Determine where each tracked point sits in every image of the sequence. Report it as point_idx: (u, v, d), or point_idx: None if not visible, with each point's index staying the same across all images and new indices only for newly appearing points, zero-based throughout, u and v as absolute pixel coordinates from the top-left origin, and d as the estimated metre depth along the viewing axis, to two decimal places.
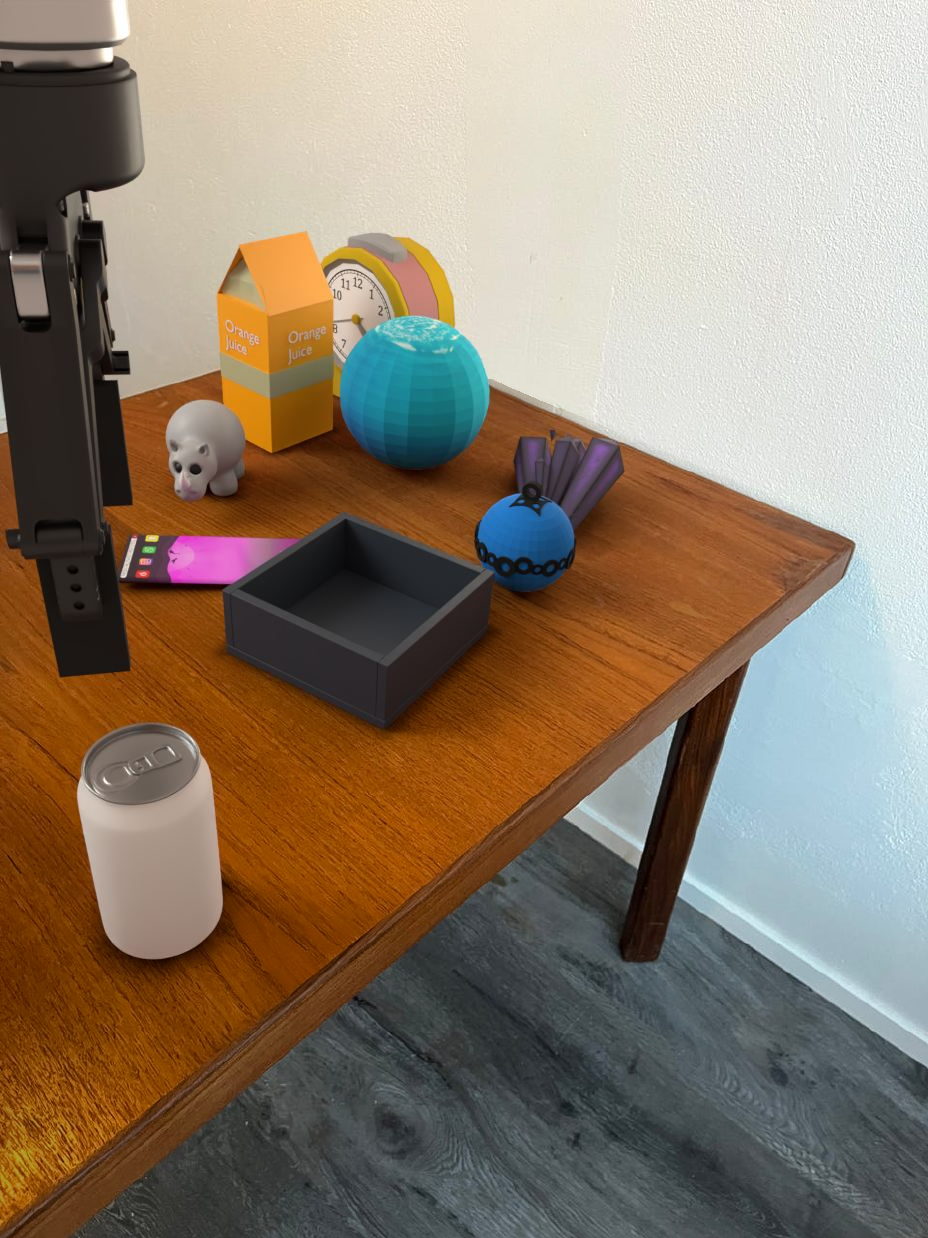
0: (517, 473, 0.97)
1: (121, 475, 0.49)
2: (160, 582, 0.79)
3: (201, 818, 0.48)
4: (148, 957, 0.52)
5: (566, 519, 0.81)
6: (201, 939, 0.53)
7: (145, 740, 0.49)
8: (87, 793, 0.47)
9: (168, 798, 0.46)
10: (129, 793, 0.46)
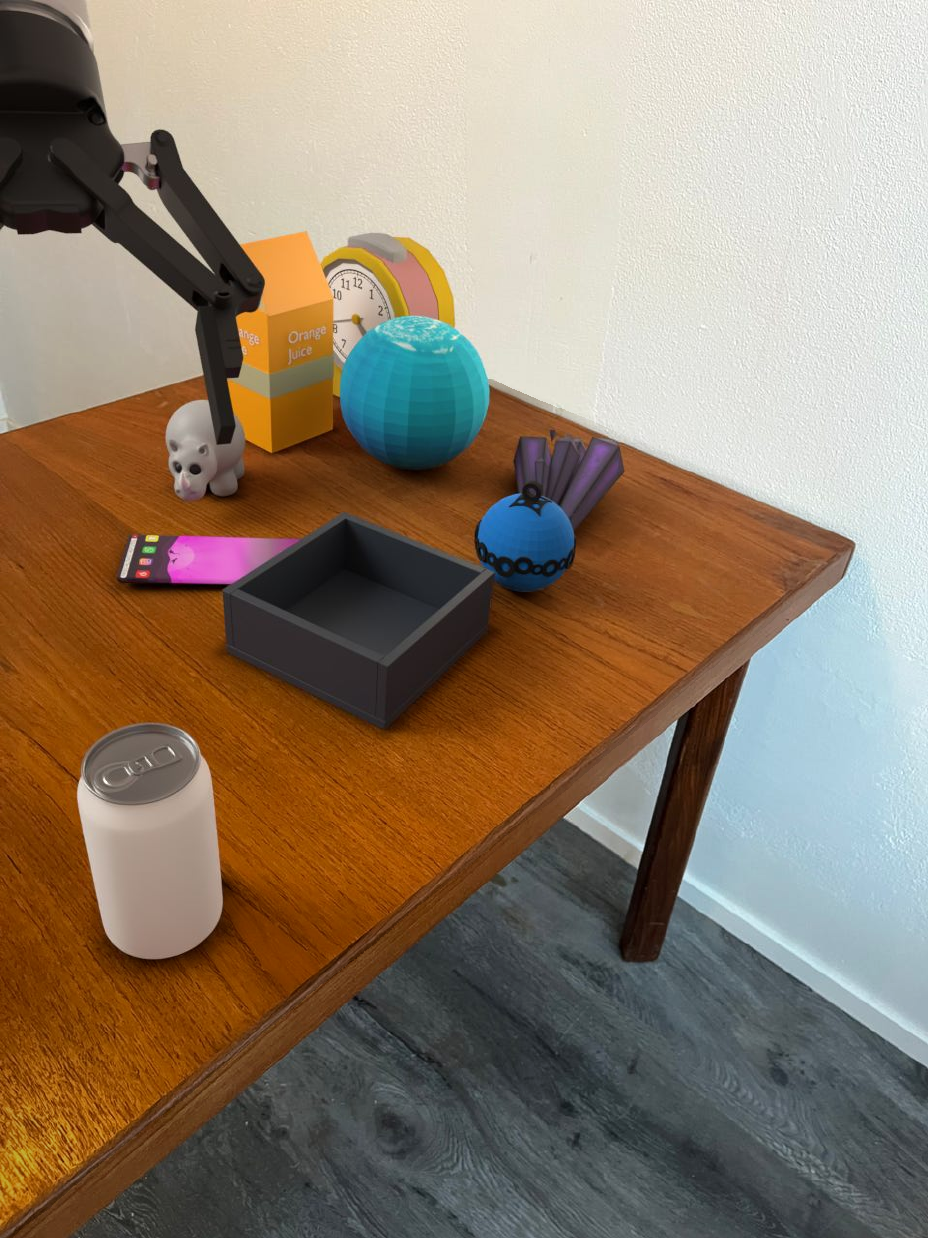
0: (517, 473, 0.97)
1: None
2: (160, 582, 0.79)
3: (201, 818, 0.48)
4: (148, 957, 0.52)
5: (566, 519, 0.81)
6: (201, 939, 0.53)
7: (145, 740, 0.49)
8: (87, 794, 0.47)
9: (168, 798, 0.46)
10: (129, 793, 0.46)
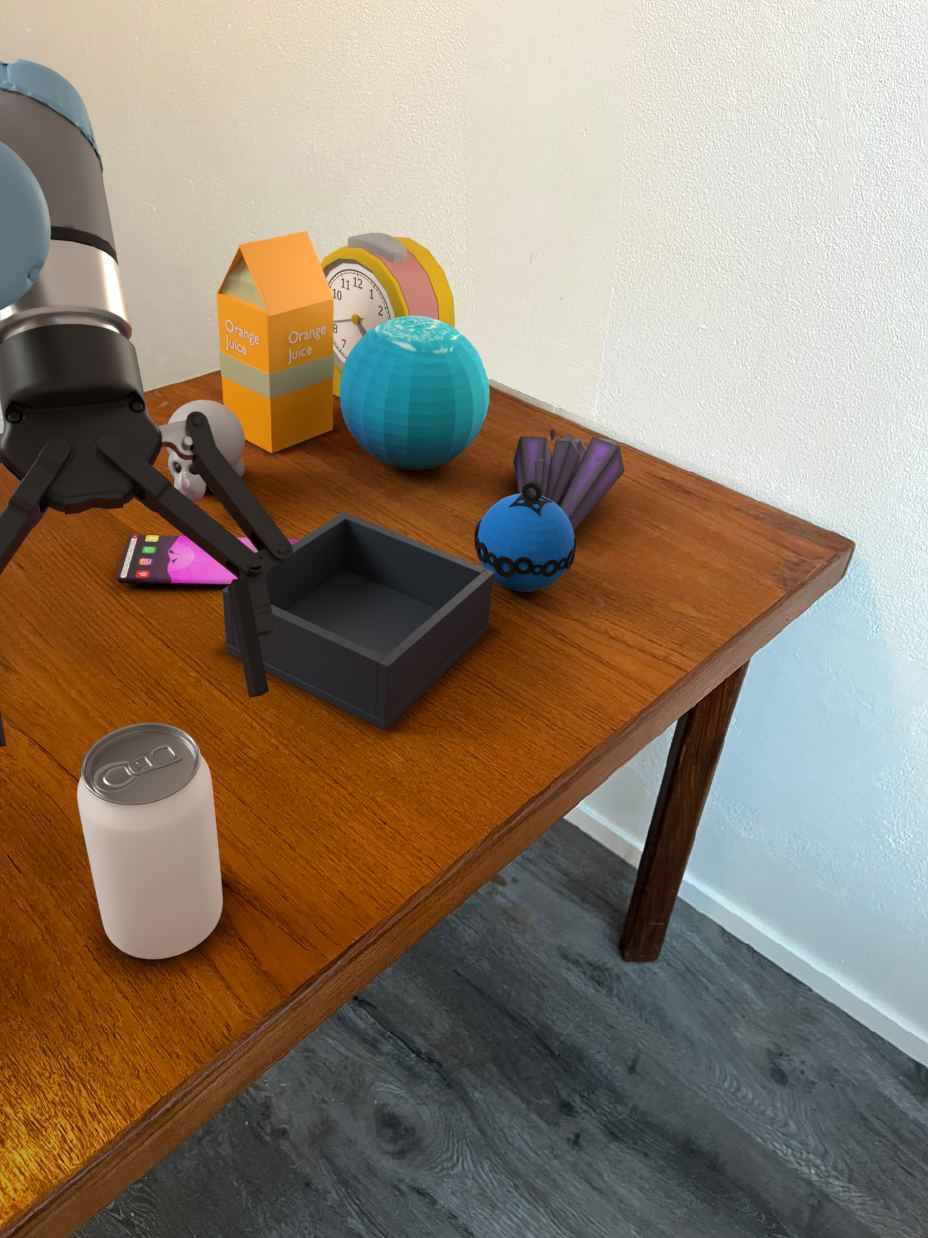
0: (517, 473, 0.97)
1: (0, 713, 0.51)
2: (160, 582, 0.79)
3: (201, 818, 0.48)
4: (148, 957, 0.52)
5: (566, 519, 0.81)
6: (201, 939, 0.53)
7: (145, 740, 0.49)
8: (87, 794, 0.47)
9: (168, 798, 0.46)
10: (129, 793, 0.46)
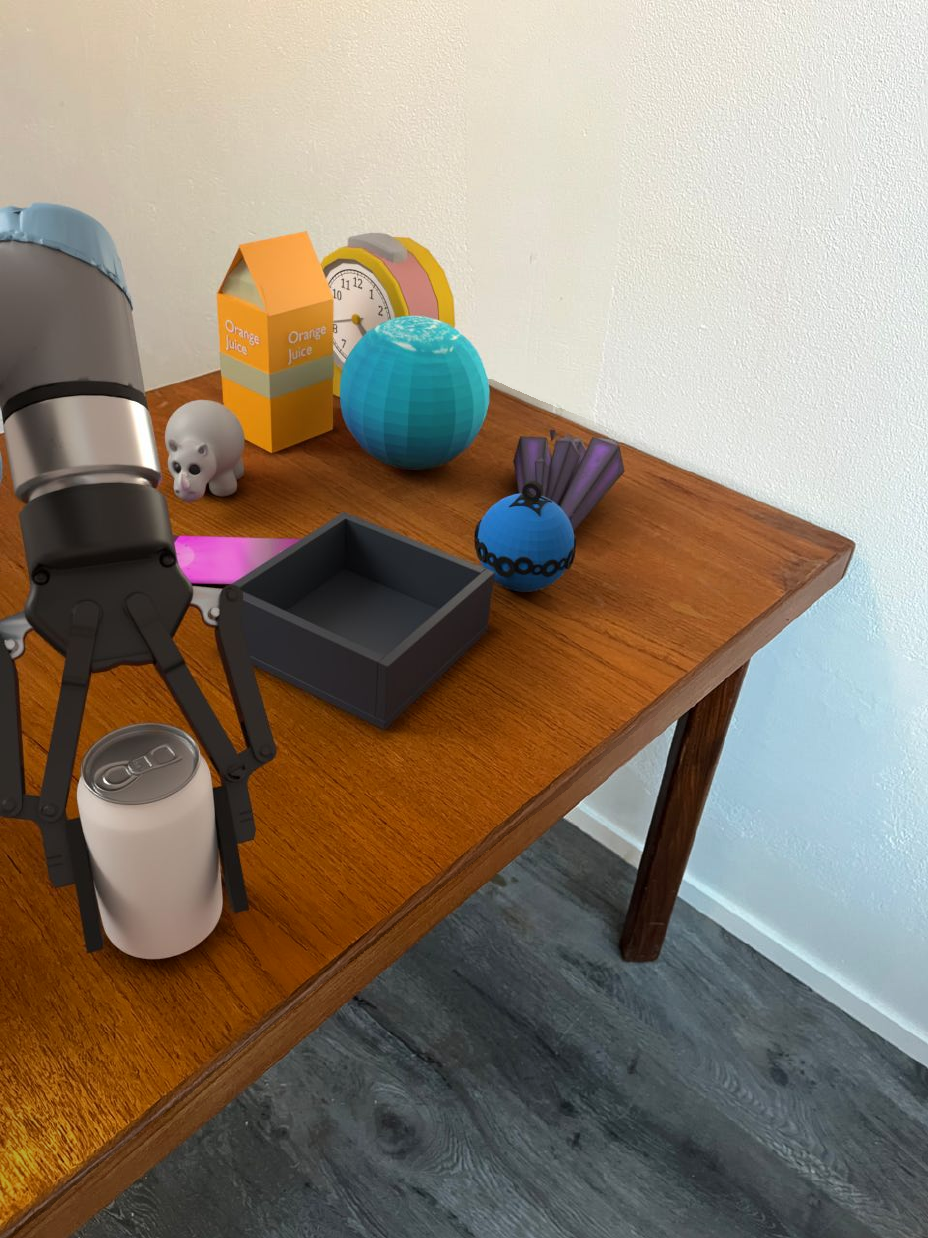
0: (517, 473, 0.97)
1: (97, 908, 0.50)
2: None
3: (200, 818, 0.48)
4: (148, 957, 0.52)
5: (566, 519, 0.81)
6: (201, 939, 0.53)
7: (145, 740, 0.49)
8: (87, 793, 0.47)
9: (168, 798, 0.46)
10: (129, 793, 0.46)
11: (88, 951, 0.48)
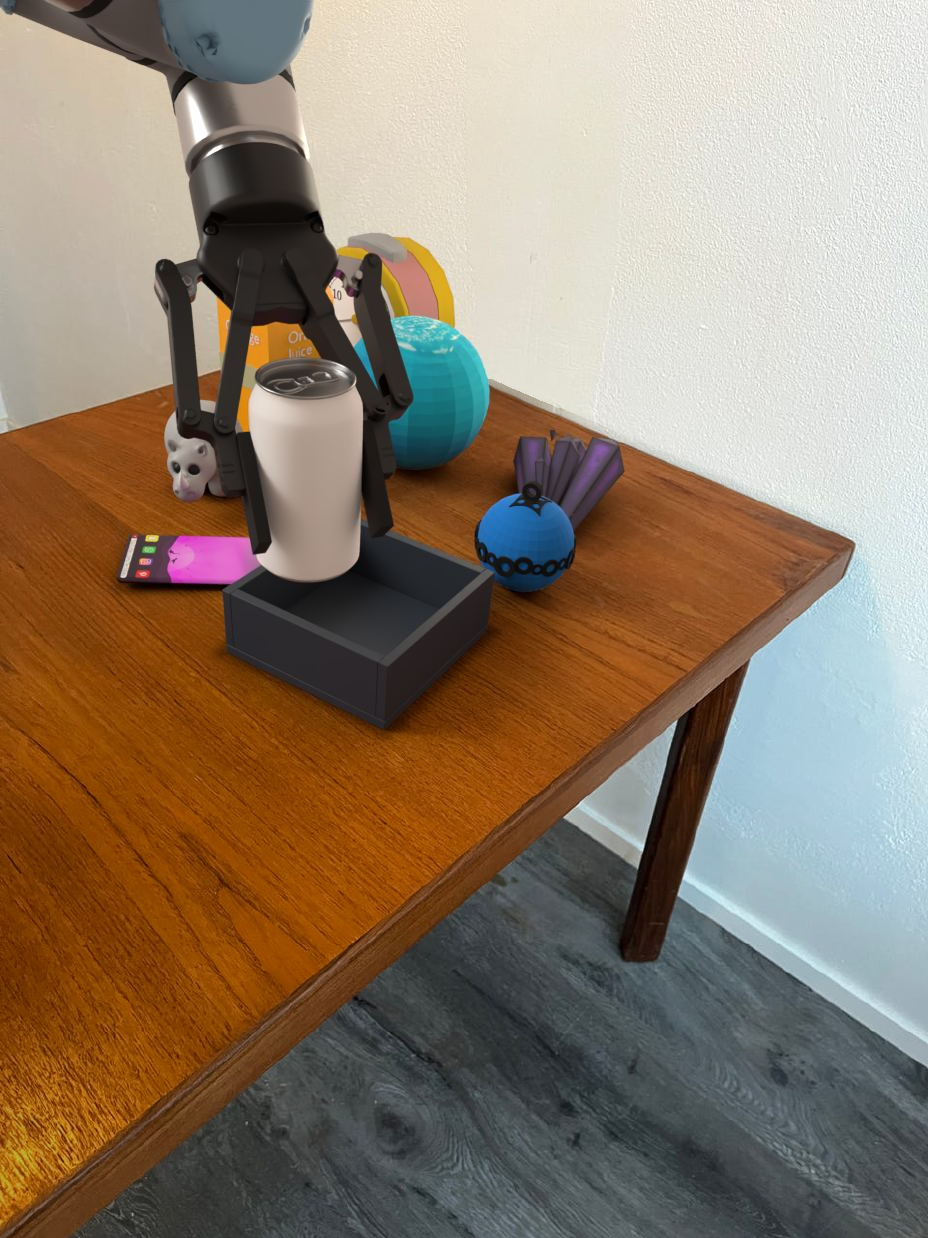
0: (517, 473, 0.97)
1: None
2: (160, 582, 0.79)
3: (356, 431, 0.55)
4: (300, 577, 0.58)
5: (566, 519, 0.81)
6: (345, 568, 0.60)
7: (304, 369, 0.56)
8: (261, 396, 0.53)
9: (333, 399, 0.53)
10: (299, 395, 0.53)
11: (259, 542, 0.54)
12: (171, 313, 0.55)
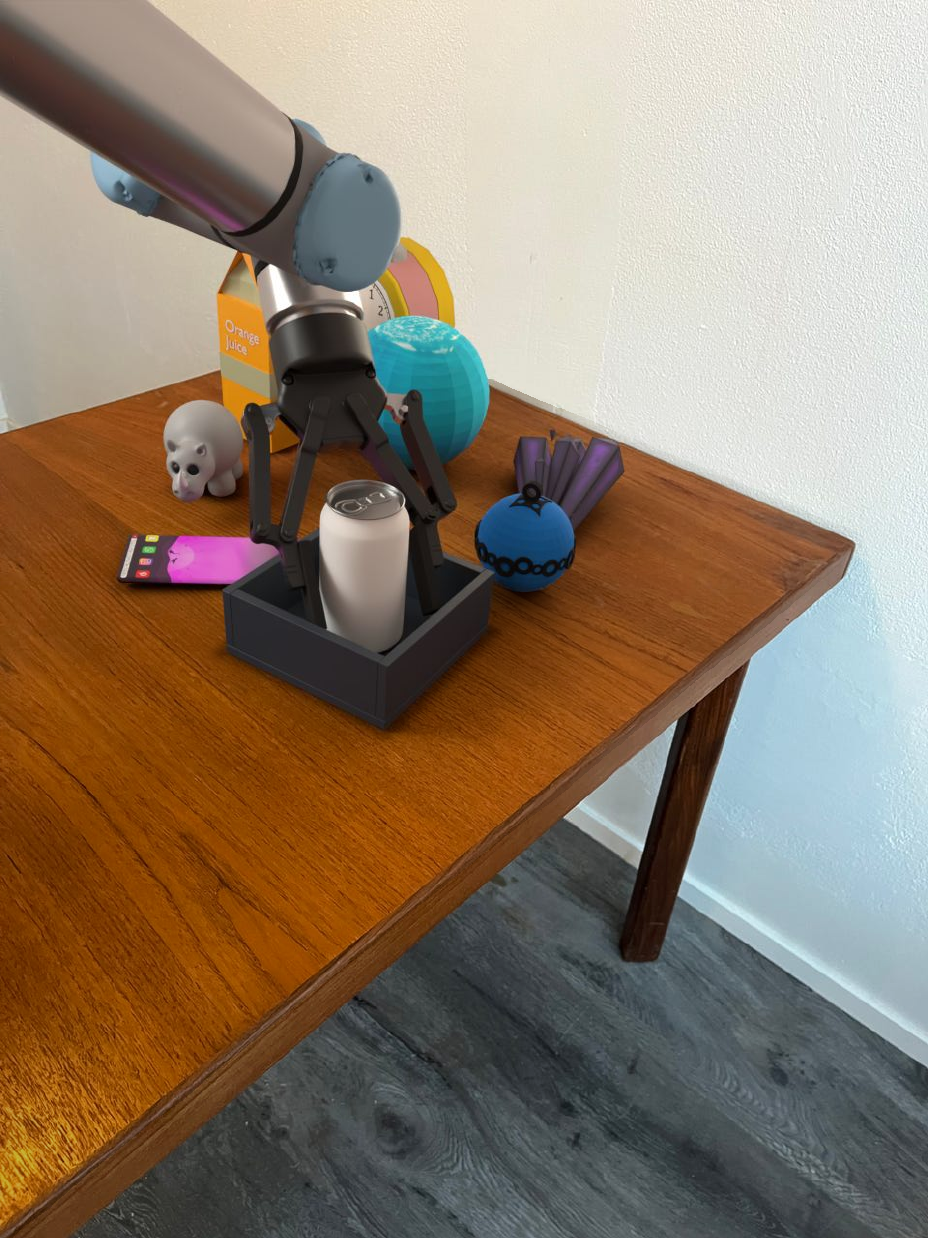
0: (517, 473, 0.97)
1: None
2: (160, 582, 0.79)
3: (404, 540, 0.70)
4: None
5: (566, 519, 0.81)
6: (392, 644, 0.74)
7: (363, 489, 0.71)
8: (332, 516, 0.68)
9: (388, 518, 0.68)
10: (361, 515, 0.68)
11: None
12: (254, 446, 0.69)
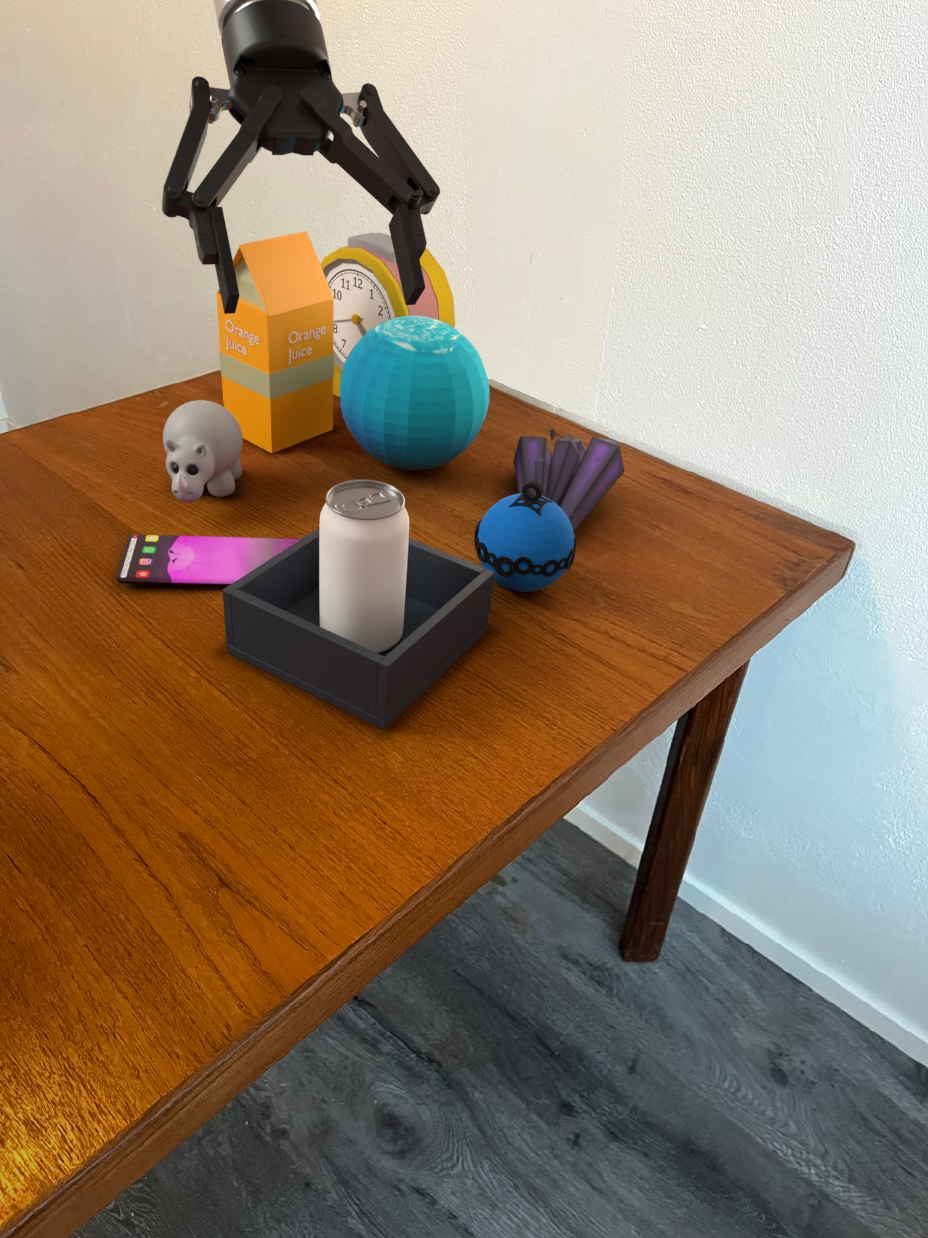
0: (517, 473, 0.97)
1: None
2: (160, 581, 0.79)
3: (404, 540, 0.70)
4: None
5: (566, 519, 0.81)
6: (392, 644, 0.74)
7: (363, 489, 0.71)
8: (332, 516, 0.68)
9: (388, 518, 0.68)
10: (361, 515, 0.68)
11: (229, 294, 0.66)
12: (190, 115, 0.68)
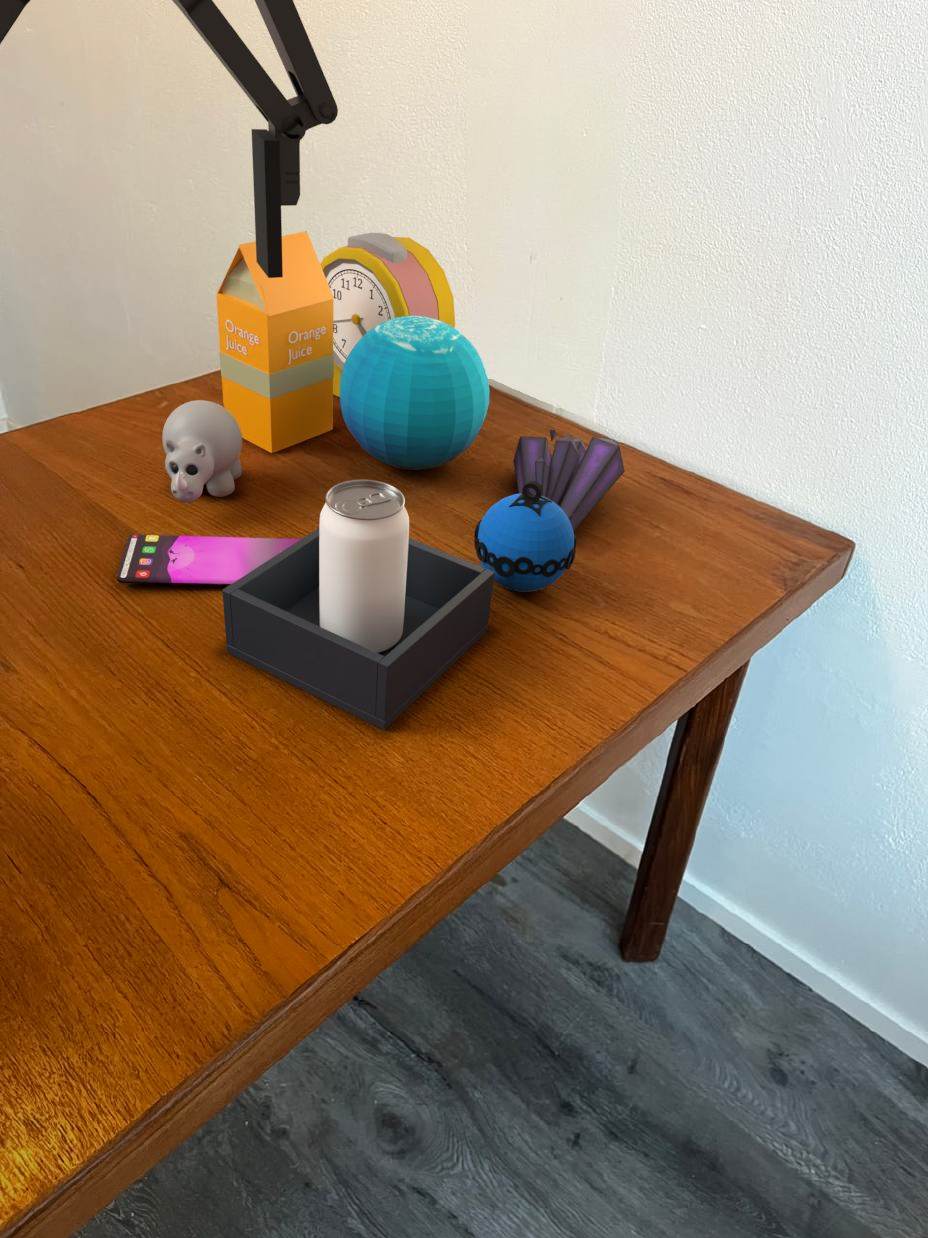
0: (517, 473, 0.97)
1: None
2: (160, 582, 0.79)
3: (404, 540, 0.70)
4: None
5: (566, 519, 0.81)
6: (392, 644, 0.74)
7: (362, 489, 0.71)
8: (332, 516, 0.68)
9: (388, 518, 0.68)
10: (361, 515, 0.68)
11: None
12: None
